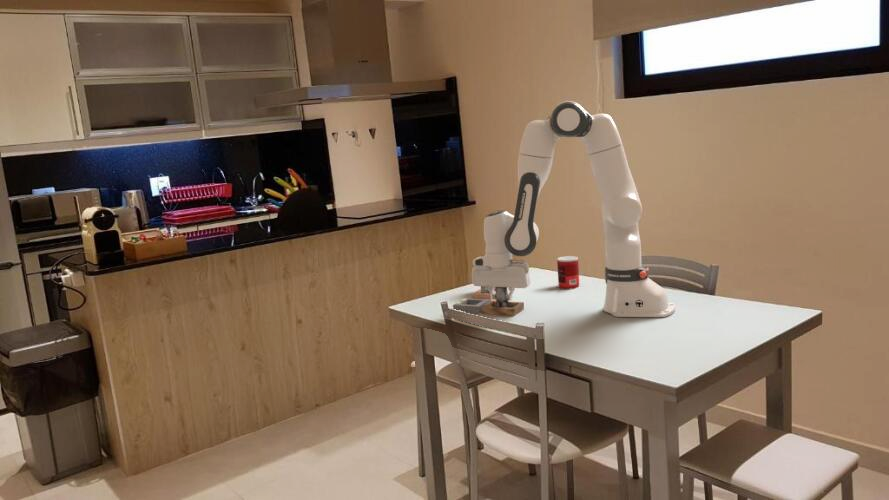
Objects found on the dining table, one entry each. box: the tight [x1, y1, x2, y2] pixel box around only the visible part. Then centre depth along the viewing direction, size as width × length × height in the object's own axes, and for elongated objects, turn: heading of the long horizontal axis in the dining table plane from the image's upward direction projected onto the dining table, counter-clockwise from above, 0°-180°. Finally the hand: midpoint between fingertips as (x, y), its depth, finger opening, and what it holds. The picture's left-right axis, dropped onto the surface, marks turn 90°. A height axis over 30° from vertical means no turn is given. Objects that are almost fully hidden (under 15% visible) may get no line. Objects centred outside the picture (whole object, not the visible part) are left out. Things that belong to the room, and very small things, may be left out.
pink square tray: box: [472, 288, 496, 301], centre depth 245 cm, size 7×7×4 cm
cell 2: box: [495, 287, 509, 308], centre depth 230 cm, size 4×4×8 cm
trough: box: [481, 300, 525, 317], centre depth 231 cm, size 12×8×3 cm, turn 60°
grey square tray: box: [452, 297, 490, 315], centre depth 238 cm, size 10×9×3 cm
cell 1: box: [480, 286, 490, 294], centre depth 245 cm, size 4×4×8 cm
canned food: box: [556, 255, 580, 290], centre depth 258 cm, size 8×8×11 cm
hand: (502, 299), depth 231 cm, fingers closed on cell 2, 4 cm apart
